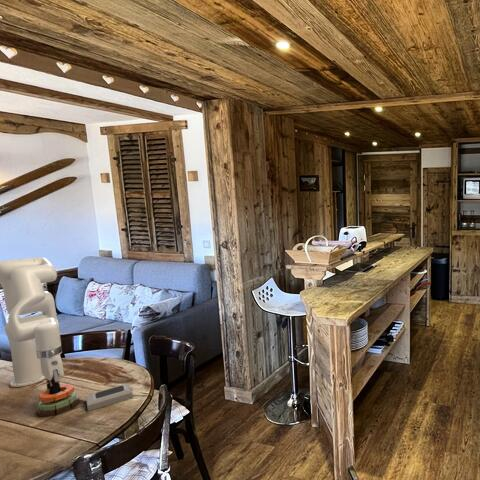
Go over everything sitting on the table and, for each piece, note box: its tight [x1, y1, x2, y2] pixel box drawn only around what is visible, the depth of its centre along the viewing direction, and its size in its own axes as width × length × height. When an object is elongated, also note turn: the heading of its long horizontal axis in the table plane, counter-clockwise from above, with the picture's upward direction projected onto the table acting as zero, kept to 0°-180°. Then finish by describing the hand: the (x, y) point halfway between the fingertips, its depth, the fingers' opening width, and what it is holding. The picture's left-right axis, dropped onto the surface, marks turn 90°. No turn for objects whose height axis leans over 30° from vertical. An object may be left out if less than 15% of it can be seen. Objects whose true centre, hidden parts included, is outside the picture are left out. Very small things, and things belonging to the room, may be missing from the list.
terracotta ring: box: [38, 383, 75, 402], centre depth 149 cm, size 10×10×2 cm
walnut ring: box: [36, 396, 80, 418], centre depth 150 cm, size 12×12×2 cm
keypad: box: [85, 383, 133, 412], centre depth 156 cm, size 10×4×15 cm
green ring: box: [37, 391, 78, 411], centre depth 150 cm, size 11×11×2 cm
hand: (54, 392), depth 151 cm, fingers closed on terracotta ring, 2 cm apart
